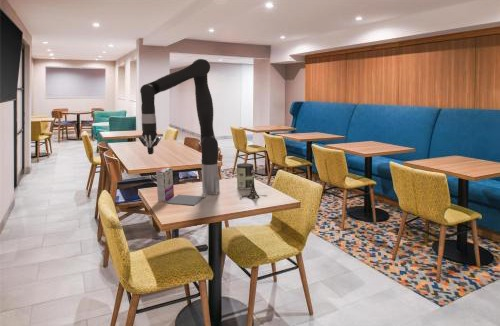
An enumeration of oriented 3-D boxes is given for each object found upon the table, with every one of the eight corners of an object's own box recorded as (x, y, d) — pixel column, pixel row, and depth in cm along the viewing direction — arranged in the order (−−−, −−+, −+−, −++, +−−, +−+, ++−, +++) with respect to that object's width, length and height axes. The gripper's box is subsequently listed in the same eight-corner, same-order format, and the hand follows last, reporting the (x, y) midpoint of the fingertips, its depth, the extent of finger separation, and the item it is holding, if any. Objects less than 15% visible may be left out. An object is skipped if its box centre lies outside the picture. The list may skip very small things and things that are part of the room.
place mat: (206, 197, 207) (206, 196, 207) (194, 205, 192) (194, 204, 192) (178, 195, 212) (178, 194, 212) (164, 203, 197) (164, 202, 197)
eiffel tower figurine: (267, 196, 211) (267, 173, 208) (266, 201, 201) (266, 177, 198) (241, 195, 212) (241, 172, 210) (239, 200, 202) (238, 176, 200)
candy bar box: (166, 195, 211) (164, 167, 208) (174, 196, 210) (172, 167, 207) (157, 201, 200) (155, 171, 197) (166, 201, 199) (164, 171, 196)
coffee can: (253, 185, 234) (253, 163, 231) (253, 189, 224) (253, 166, 221) (237, 185, 234) (236, 163, 231) (236, 189, 224) (236, 166, 221)
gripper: (163, 122, 201) (165, 153, 205) (142, 121, 205) (143, 152, 208) (156, 123, 194) (158, 155, 198) (134, 122, 198) (136, 154, 201)
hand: (150, 154), depth 203 cm, fingers closed
